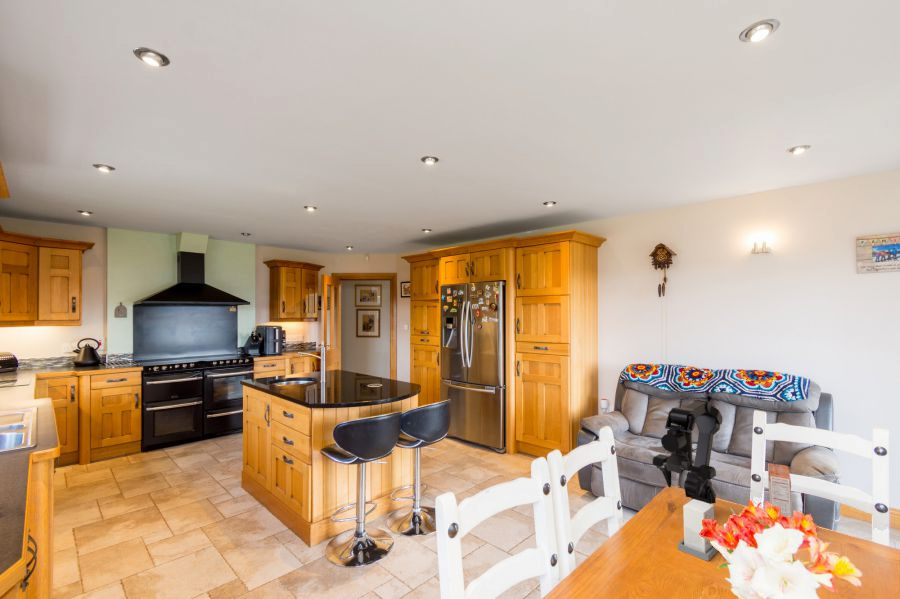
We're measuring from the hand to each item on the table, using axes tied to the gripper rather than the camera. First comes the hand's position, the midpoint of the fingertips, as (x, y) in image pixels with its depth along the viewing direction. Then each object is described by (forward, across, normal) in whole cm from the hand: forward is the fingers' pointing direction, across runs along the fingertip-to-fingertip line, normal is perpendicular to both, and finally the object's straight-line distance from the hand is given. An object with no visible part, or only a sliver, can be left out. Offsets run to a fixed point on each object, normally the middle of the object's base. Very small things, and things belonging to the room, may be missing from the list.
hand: (683, 491), depth 147 cm
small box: (+13, +8, -9) cm, 17 cm away
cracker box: (+13, +22, +23) cm, 34 cm away
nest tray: (+13, +8, -9) cm, 18 cm away
